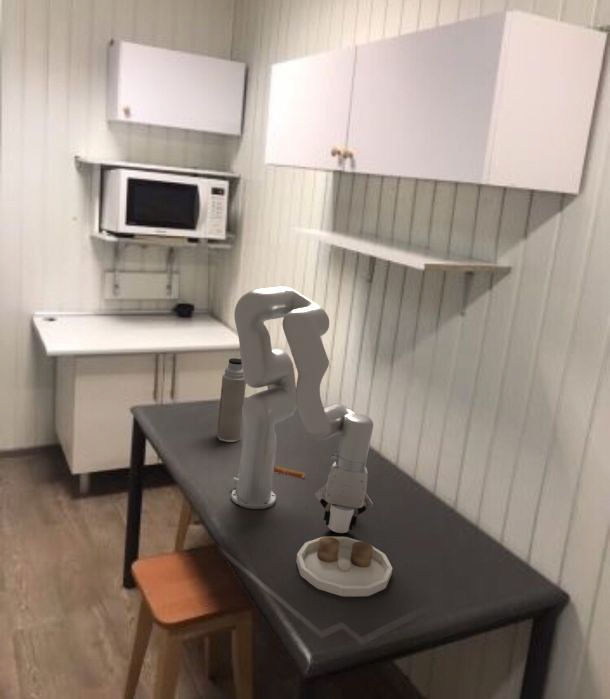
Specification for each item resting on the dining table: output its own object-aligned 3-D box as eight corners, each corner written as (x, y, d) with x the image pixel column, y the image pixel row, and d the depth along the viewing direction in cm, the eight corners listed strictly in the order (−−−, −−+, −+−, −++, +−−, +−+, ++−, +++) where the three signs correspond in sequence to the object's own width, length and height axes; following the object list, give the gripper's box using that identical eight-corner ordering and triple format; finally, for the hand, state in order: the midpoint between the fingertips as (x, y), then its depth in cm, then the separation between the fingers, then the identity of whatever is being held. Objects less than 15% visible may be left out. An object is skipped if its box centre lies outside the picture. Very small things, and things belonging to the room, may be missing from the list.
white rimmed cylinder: (350, 521, 183) (354, 498, 181) (352, 535, 176) (357, 511, 175) (324, 518, 183) (329, 495, 181) (326, 532, 176) (330, 508, 174)
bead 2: (346, 559, 167) (348, 544, 166) (360, 554, 171) (362, 539, 170) (360, 569, 164) (362, 554, 163) (374, 563, 167) (377, 549, 166)
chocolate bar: (302, 481, 211) (303, 474, 210) (265, 472, 213) (266, 465, 213) (304, 477, 213) (305, 471, 212) (268, 469, 216) (268, 462, 215)
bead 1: (312, 554, 168) (314, 540, 167) (327, 549, 171) (329, 534, 170) (326, 564, 164) (328, 549, 163) (341, 558, 167) (343, 544, 166)
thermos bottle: (214, 440, 232) (221, 360, 225) (220, 432, 240) (227, 355, 233) (237, 444, 231) (245, 364, 224) (242, 435, 239) (250, 358, 232)
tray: (278, 562, 164) (279, 551, 164) (344, 538, 179) (345, 528, 178) (341, 611, 149) (343, 599, 148) (408, 581, 163) (410, 570, 162)
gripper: (316, 462, 171) (305, 526, 176) (384, 474, 171) (371, 538, 175) (318, 450, 178) (307, 511, 183) (384, 461, 178) (371, 523, 183)
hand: (339, 524), depth 179 cm, fingers closed on white rimmed cylinder, 5 cm apart
